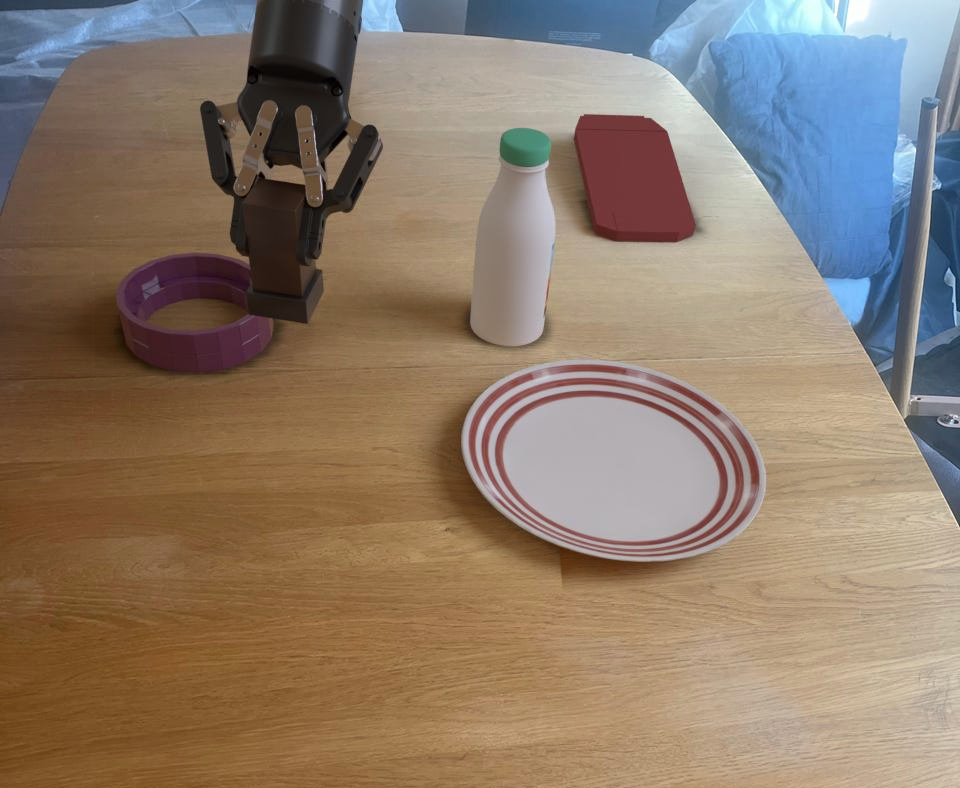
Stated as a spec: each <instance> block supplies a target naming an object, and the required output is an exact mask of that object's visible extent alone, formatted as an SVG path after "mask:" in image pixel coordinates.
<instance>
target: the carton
mask: <svg viewBox="0 0 960 788" xmlns="http://www.w3.org/2000/svg"><path fill="white" fill-rule="evenodd" d="M573 143H574V147H575V151H576V156H577V161H578V165H579V169H580V173H581V178H582V182H583V186H584V192H585V197H586V200H587V206H588V209H589V214H590V218H591V219H590V220H591V223H592V227H593V231H594V235H597V236H599V237H603V238H606V239H608V240H611V241H614V242H651V243H652V242H654V243H655V242H657V243H658V242H659V243H661V242H663V243H679V242H681V241H683V240H685V239H688V238H690V237H692V236H694V233H695V231H696V227H697V225H696V221H695V218H694V215H693V211H692V208H691V204H690V201H689V197H688V195H687V190H686V188H685V185H684V181H683V178H682V174H681V171H680V168H679V165H678V161H677V158H676V154H675V151H674V148H673V145H672V141H671V139H670V135H669V132H668V131H667V129H665V128H664V127H663V126H662V125H661V124H659V123H658V122H657V121H656V120H654V119H653V118H652V117H645V115H629V114H627V115H626V114H594V113H593V114H591V113H584V114H583V115H580V116H579V119H578V121H577V123H576V126H575V130H574V136H573Z"/></svg>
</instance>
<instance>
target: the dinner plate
mask: <svg viewBox="0 0 960 788" xmlns="http://www.w3.org/2000/svg"><path fill="white" fill-rule="evenodd" d="M463 421H464V422H463V424H462V429H461V436H460V447H461V454H462V458H463V462H464V465H465V468H466V471H467V472H468V474H469V476H470V479H471V480H472V482H473V483H474V485H475V486H476V488H477V489H478V491H479V492H480V493H481V495H482V496H483V498H485V499H486V501H487V502H488V503H489V504H491V506H493V508H495V509H496V510H497V512H499V513H500V514H502V515H503V516H504V517H505V518H507V519H508V520H509V521H511V522H512V523H514V524H515V525H516V526H518V527H520V528H522V529H523V530H524V531H526V532H528V533H530V534H531V535H533V536H535V537H537V538H539V539H542V540H544V541H545V542H548V543H551V544H553V545H555V546H558V547H561V548H563V549H566V550H570V551H572V552H575V553H580V554H582V555H587V556H592V557H596V558H601V559H607V560H613V561H622V562H636V563H644V562H645V563H646V562H667V561H674V560H675V561H676V560H680V559H686V558H692V557H695V556H698V555H699V556H700V555H702V554H705V553H709V552H711V551H713V550H715V549H718V548H720V547H722V546H724V545H726V544H728V543H729V542H731V541H732V540H733V539H735V538H737V537H738V536H739V535H740V534H741V533H743V532H745V530H746V529H747V528H748V527H749V525H751V523H752V522H753V521H754V519H755V518H756V517H757V515H758V513H759V511H760V509H761V507H762V505H763V502H764V499H765V494H766V492H767V491H766V489H767V470H766V466H765V462H764V459H763V455H762V453H761V450H760V448H759V446H758V445H757V442H756V441H755V439H754V438H753V436H752V435H751V433H750V432H749V431H748V429H747V428H746V427H745V425H743V424H742V422H741V421H740V420H739V419H738V418H737V417H736V416H735V415H734V413H732V412H731V411H730V410H728V409H727V407H726V406H724V405H722V404H721V403H720V402H719V401H717V400H716V399H714V398H713V397H712V396H711V395H709V394H707V393H705V391H704V392H703V391H702V390H700V389H699V388H697V387H695V386H694V385H691V384H690V383H688V382H686V381H684V380H681V379H678V378H677V377H675V376H672V375H669V374H667V373H664V372H662V371H658V370H655V369H653V368H649V367H645V366H642V365H641V366H640V365H637V364H632V363H627V362H620V361H615V360H605V359H604V360H603V359H589V358H588V359H583V358H580V359H563V360H553V361H549V362H544V363H539V364H534V365H531V366H528V367H525V368H521V369H519V370H517V371H515V372H512V373H509V374H508V375H506V376H503V377H502V378H500V379H498V380H497V381H496V382H493V383H492V384H490V385H489V386H488V387H487V388H486V389H485V390H484V391H482V393H480V395H479V396H478V397H477V398H476V399H475V401H474V402H473V403H472V404H471V406H470V408H469V410H468V412H467V413H466V416H465V418H464V420H463Z"/></svg>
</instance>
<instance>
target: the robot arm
mask: <svg viewBox="0 0 960 788" xmlns="http://www.w3.org/2000/svg"><path fill="white" fill-rule="evenodd" d="M363 7H364V0H256V4H255V12H254V18H253V24H252V25H253V27H252V33H251V41H250V47H249V55H248V62H247V72H246V81H245V85H244V87H243V88H242V90H241V92H240V93H239V95H238V96H237V100H236V101H235V102H230V103H224V104H220V105H216V103H214V102H213V101H212V100H204V101H203V102H201V104H200V106H199V113H200V117H201V123H202V129H203V135H204V141H205V146H206V153H207V158H208V164H209V169H210V175H211V179H212V181H213V182H214V183H215V184H216V185H217V186H218V187H219V188H220V189H221V191H222V192H223V193H224V194H225V195H227V196H231V197H232V198H233V205H232V212H231V213H232V214H231V221H230V228H229V238H230V242H231V243H232V244H233V245H234V246H235V250H236V252H237V253H238V254H239V255H240V256H241V257H246V258H249V254H248V246H247V238H246V231H245V222H244V214H243V206H242V202H243V201H244V199H245V198H246V196H247V195H248V193H249V192H250V190H251V189H252V187H253V186H254V185H255V183H256V182H257V180H258V179H259V178H264V179H271V180H272V178H273V175H274V173H275V171H276V168H277V166H279V167H282V166H284V167H285V166H293V167H296V168H298V169H300V170H302V173H303V178H304V185H305V188H306V197H307V208H304V207H303V212H302V219H301V225H300V232H299V239H298V242H297V249H296V260H297V261H298V262H299V263H300V264H301V265H302V266H309V267H311V265H312V260H313V259H315V261H316V260H317V261H318V260H319V258H320V256H321V255H322V251H323V243H324V237H325V231H326V230H325V229H326V223H327V219H328V218H329V217H330V216H331V215H332V214H335V213H336V214H337V213H339V212H342V213H343V214H349V213H351V212H352V211H353V210H354V208H355V206H356V204H357V202H358V200H359V198H360V196H361V194H362V192H363V190H364V188H365V186H366V184H367V182H368V180H369V178H370V176H371V174H372V172H373V170H374V168H375V166H376V164H377V161H378V159H379V157H380V155H381V154H382V151H383V149H384V144H383V141H382V138H381V135H380V133H379V131H378V129H377V127H376V126H375V125H374V124H371V123H370V124H365V125H363V124H362V123H359V122H357V121H356V120H354V119H353V118H352V116H351V112H350V108H349V102H350V96H351V89H352V83H353V82H352V81H353V76H354V75H353V74H354V67H355V62H356V55H357V48H358V41H359V35H360V34H361V31H362V24H363V17H362V14H363ZM241 121H242V123H243V125H244V127H245V129H246V131H247V133H248V135H249V140H248V142H247V144H246V147H245V149H244V151H243V154H242V164H241V167H240V169H239V172H238V175H236V174H237V173H236V169H235V164H234V163H235V162H234V157H233V151H232V145H231V139H232V138H234V137H235V135H236V134H237V133H236V132H237V125H238V123H239V122H241ZM347 137H348V140H347V148H348V150H349V155H348V157H347V159H346V160H345V163H344V165H343V166H342V169H341V171H340V173H339V176H338V177H337V179H336V182H334V183H335V184H334V186H333V187H332V188H329V174H328V166H327V158H328V157H329V155H331V153H332V152H333V151H334V150H335V149H336V148H338V146H339V145H340V144H341V143H342V142H343V140H344V139H345V138H347Z"/></svg>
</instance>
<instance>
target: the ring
mask: <svg viewBox="0 0 960 788" xmlns="http://www.w3.org/2000/svg"><path fill="white" fill-rule="evenodd" d="M251 283H252V280H251V272H250V264H249V263H248V262H246V261H244V260H242V259H240V258H236V257H231V256H227V255H224V254H220V253H211V252H209V253H208V252H188V253H176V254H170V255H166V256H162V257H159V258H155V259H152V260H149V261H147V262H145V263H143V264H141V265H139V266H137V267H135V268H133V269H132V270H131V271H130V272H128V274H127V275H126V276H124V278H122V279H121V281H120V282H119V284H118V287H117V289H116V291H115V299H116V306H117V308H118V309H117V310H118V314H119V318H120V323H121V327H122V332H123V335H124V339H125V343H126V346H127V347H128V348H129V350H130V351H131V353H133V355H135V357H137V358H138V359H140V360H142V361H144V362H145V363H147V364H149V365H151V366H153V367H155V368H156V367H157V368H160V369H164V370H167V371H171V372H177V373H193V374H194V373H195V374H196V373H197V374H201V373H208V372H215V371H222V370H225V369H230V368H233V367H235V366H238V365H240V364H244V363H245V362H247V361H249V360H251V359H252V358H254V357H255V356H257V355H259V354H260V353H261V352H262V351H263V350H264V349H265V347H267V346H268V344H269V343H270V342H271V340H272V336H273V332H274V319H272V318H266V317H260V316H253V315H249V311H248V304H247V296H246V292H247V290H248V288H249V287H250V285H251ZM197 299H204V300H205V299H206V300H219V301H223V302H228V303H230V304H234V305H235V306H237V307H240V308H242V309H244V310H245V311H246V312H247V314H245V315H244V316H242V317H240V318H239V319H237V320H236V321H233V322H230V323H227V324H223V325H220V326H217V327H213V328H204V329H196V330H187V329H185V330H184V329H169V328H166V327H163V326H158V325H154V324H150V323H148V322H146V321H148V319H149V318H151V316H152V315H153V314H154V313H155V312H158V311H159V310H161V309H163V308H165V307H166V306H168V305H172V304H175V303H178V302H181V301H189V300H197Z"/></svg>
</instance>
